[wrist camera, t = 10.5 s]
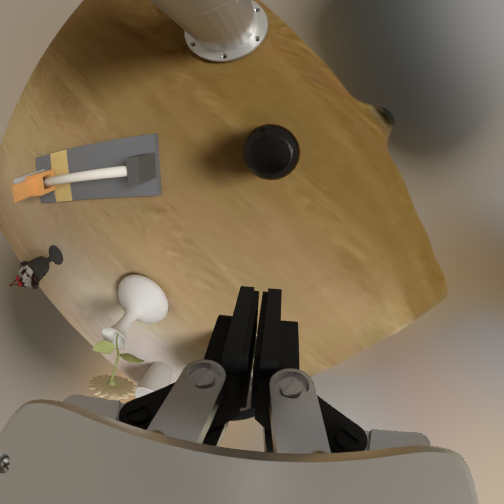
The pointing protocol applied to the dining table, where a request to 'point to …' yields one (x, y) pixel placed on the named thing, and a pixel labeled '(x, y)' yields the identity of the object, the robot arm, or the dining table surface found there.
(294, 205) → the dining table surface
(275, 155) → the supplement bottle
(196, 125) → the dining table surface
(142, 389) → the dixie cup
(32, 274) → the sundae
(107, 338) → the flower in vase
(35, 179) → the orange l-shaped block
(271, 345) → the robot arm
